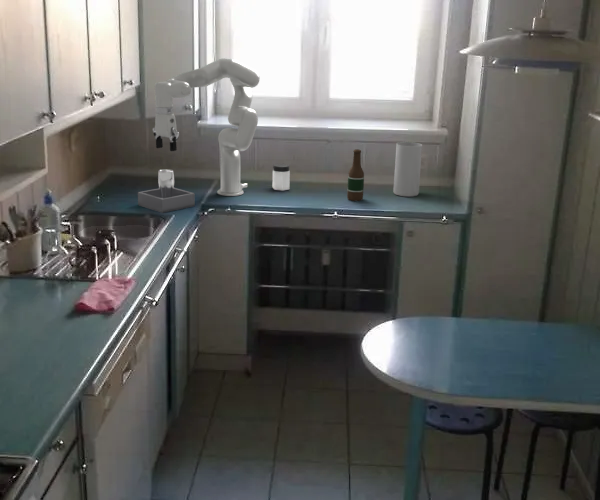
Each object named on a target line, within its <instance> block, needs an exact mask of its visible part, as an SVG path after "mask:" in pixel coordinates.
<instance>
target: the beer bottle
mask: <svg viewBox="0 0 600 500" xmlns="http://www.w3.org/2000/svg"><path fill="white" fill-rule="evenodd" d="M361 153H362V150H361V149H353V158H352V164H351V167H350V168H349V169H348V170H349V171H348V173H347V174H348V175H347V189H346V198H347V200H348V201H352V202H360V201H363V199H364V190H365V189H364V185H365V184H364V183H365V172H364V170H363V168H362V165H361V159H362V158H361Z"/></svg>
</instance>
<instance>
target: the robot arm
mask: <svg viewBox="0 0 600 500" xmlns="http://www.w3.org/2000/svg"><path fill="white" fill-rule="evenodd" d="M225 78H226V79H229V81H230V82H231V85H232V87H233V89H234V96H233V100H232V104H231V107H230V109H229V113H228V117H227V120H228V123H229V125H231V126H232V127H233V126H234V127H237V128H232V127H226V128H223V129H222V130H220V132H219V134H218V145H219V153H220V154H219V155H220V188H219V189H218V190H217V194H218V195H219V196H226V197H237V196H241V195H243V194H244V190H243V189H244V188H248V183H242V182H241V154H240V153H241V152H244V151H247V150H248V149H249V147H250V146H251V145H252V142H253V139H254V136H255V133H256V130H257V127H258V122H259V116H258V114H257V113H258V112H256V110H254V109H253V108H251V105H252V101H253V93H252V92H253V91H252V88H255V87H257V86H258V85H259V83H260V75H259V72H258V71H257V70H256V69H254V68H252V67H250V66H248V65H246V64H244V63H243V62H240V61H239V60H237V59H234V58H233V59H232V58H226V57H225V58H218V59H216V60H215V61H212V62H210V63H208V64H206V65H204V66H202V67H201V66H200V68H196V69H193V70H189V71H186V72H182V73H179V74H177V75H175V76H172V77H170V78H169V79H167V80H166V81H158V82H155V83H154V97H155V101H154V102H155V117H154V118H155V120H154V121H155V122H154V123H155V124H154V127H152V132H153V136H154V139H155V147H156V149H161V148H162V149H163V147H164V146H163V145H164V144H163V138H168V139H169V140H170V142H169V150H170V152H175V151H177V150H178V149H177V142H178V140H179V136H180V132H179V131H178V127H177V121H176V120H177V119H176V116H175V114H174V99H185V98H188V97H189V96H190V94H191V92H192V89H195V88H203V87H208V86H210V85H212V84H214V83H216V82H218V81H221V80H223V79H225ZM162 137H163V138H162Z"/></svg>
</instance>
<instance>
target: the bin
mask: <svg viewBox="0 0 600 500" xmlns="http://www.w3.org/2000/svg"><path fill="white" fill-rule="evenodd" d="M195 196H196V195H195V192H191V191H187V190H184V189H181V188H177V187H174V188H173V197H169V198H164V199H162V198H161V193H160V189H159V188H153V189H148V190H144V191H143V190H142V191H137V205H138V206H139V207H143V208H146V209H149V210H151V211H155V212H158V213H161V214H163V213H165V214H166V213H170V212H173V211H178V210H183V209H188V208H193V207H195V206H196V203H195V202H196V200H195V198H196V197H195Z"/></svg>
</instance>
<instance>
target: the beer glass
mask: <svg viewBox="0 0 600 500" xmlns="http://www.w3.org/2000/svg"><path fill="white" fill-rule="evenodd" d="M157 175H158V177H157V179H158V180H157V181H158V189H160V193H161V198H162V199H164V198H169V197H173V188H175V187H174V186H175V175H174V170H173V169H166V168H165V169H159V170H158V174H157Z"/></svg>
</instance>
